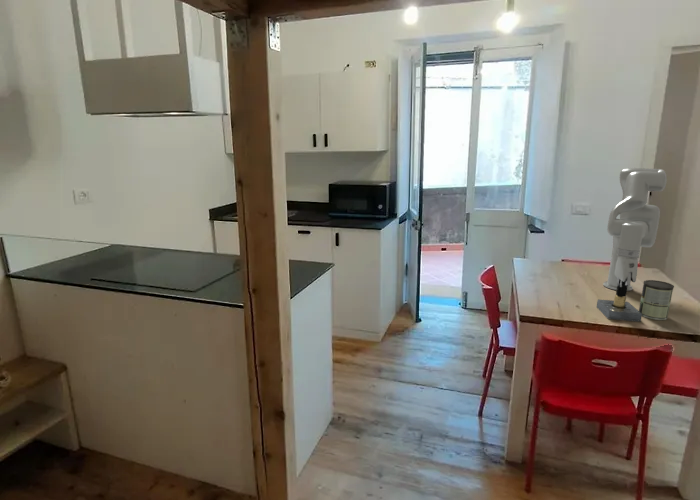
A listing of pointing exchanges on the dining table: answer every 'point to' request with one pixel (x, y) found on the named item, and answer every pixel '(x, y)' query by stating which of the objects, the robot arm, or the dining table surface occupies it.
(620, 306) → the gold rounded cylinder
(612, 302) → the jig
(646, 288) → the coffee can
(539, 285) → the dining table surface
